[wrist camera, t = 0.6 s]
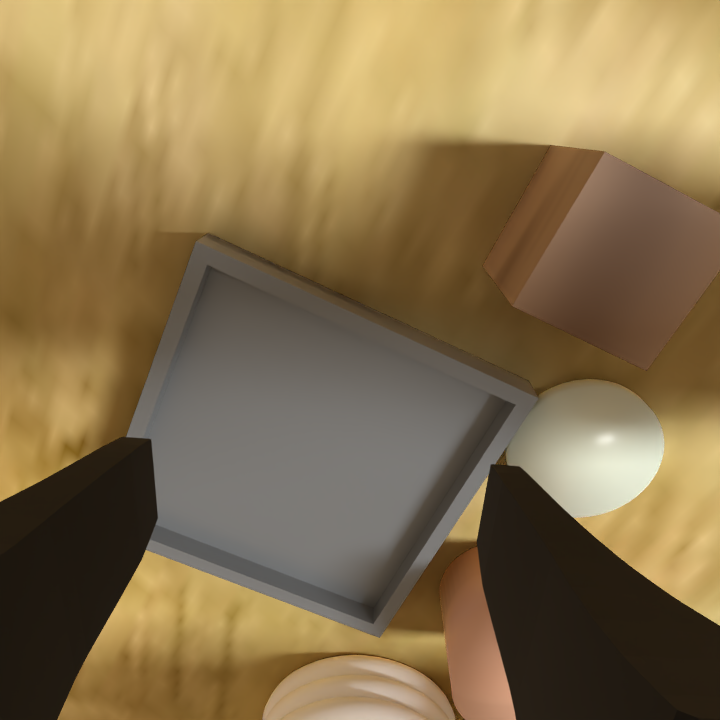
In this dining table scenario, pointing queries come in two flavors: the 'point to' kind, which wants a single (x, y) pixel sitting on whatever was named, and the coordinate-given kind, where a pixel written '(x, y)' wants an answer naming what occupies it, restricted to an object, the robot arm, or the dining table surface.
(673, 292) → the block
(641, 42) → the dining table surface
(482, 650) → the peach capsule shape
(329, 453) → the tray
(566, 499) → the white rounded disc
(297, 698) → the cream round disc
